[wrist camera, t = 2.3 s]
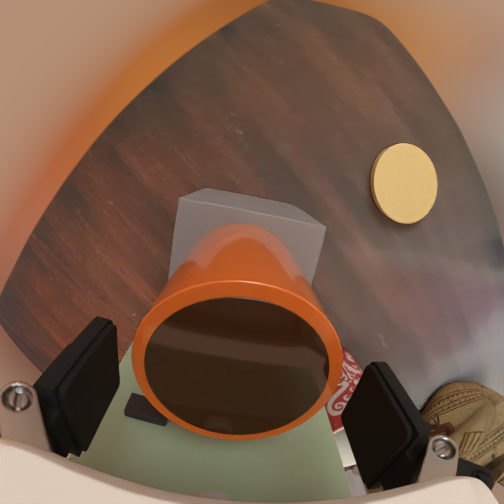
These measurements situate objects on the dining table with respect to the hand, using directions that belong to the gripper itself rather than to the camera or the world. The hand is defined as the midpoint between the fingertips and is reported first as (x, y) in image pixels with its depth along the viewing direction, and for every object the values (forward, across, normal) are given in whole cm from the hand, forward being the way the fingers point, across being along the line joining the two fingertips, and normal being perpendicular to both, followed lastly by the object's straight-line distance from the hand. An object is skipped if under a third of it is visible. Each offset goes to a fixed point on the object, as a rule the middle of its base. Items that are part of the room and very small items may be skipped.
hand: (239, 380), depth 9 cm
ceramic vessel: (+21, -46, +24) cm, 56 cm away
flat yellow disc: (+21, -16, -10) cm, 28 cm away
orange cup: (+9, 0, 0) cm, 9 cm away
